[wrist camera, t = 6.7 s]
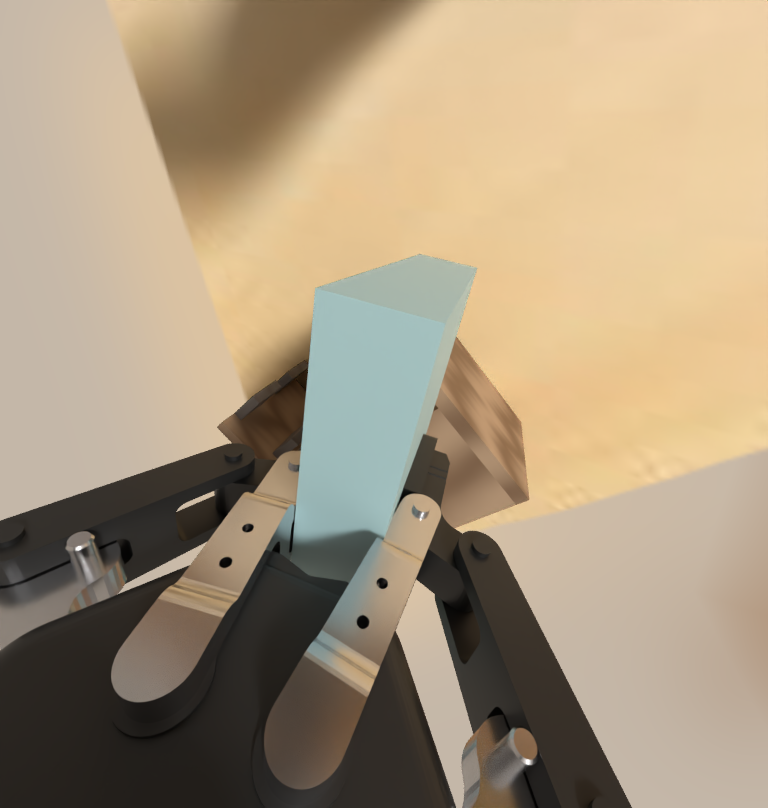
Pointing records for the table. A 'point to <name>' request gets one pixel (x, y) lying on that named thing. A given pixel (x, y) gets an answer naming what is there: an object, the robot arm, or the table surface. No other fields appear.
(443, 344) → the door
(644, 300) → the table surface
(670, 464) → the table surface
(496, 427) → the cabinet
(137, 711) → the robot arm
